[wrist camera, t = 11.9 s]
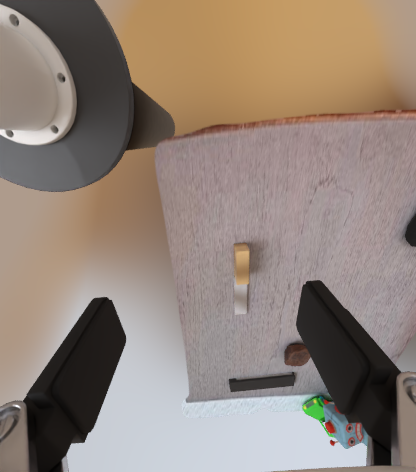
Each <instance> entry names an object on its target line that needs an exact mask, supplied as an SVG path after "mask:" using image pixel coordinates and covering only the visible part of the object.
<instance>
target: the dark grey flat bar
mask: <svg viewBox="0 0 416 472" xmlns="http://www.w3.org/2000/svg"><path fill="white" fill-rule="evenodd" d="M247 378H248V379H247ZM294 380H295V375H294V372H292V373H282V374H274V376H273V375H263V376H254V377H245V378H244V379H243V378H234V379H229V384H230V390H231V392H237V391H246V390H256V389H266V388H276V387H286V386H294Z"/></svg>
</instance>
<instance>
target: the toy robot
mask: <svg viewBox="0 0 416 472" xmlns="http://www.w3.org/2000/svg"><path fill="white" fill-rule="evenodd" d="M324 403H325V405H323V410H324V416H325V422H326V423H325V426H326V429H327V430H328V432H329V433H330V434H332V435H333V436H334V437H335V438H336V439H337V440H338V441H336V442H334V441H332V440H331V441H330V444H331V445H333V446H334V444H335V443H337V442H340V443H341V445H342V446H343V447H344V448H346V449H348V448H350V447H352V446H354V445H357V444H359V443H364V444H365V445H366V446H367V441H368V435H367V433H366V431H365V429H364V428H363V426H362V424H361V423H348V421H347V419H346V417H345V415H344V414H341V413H340V412H339V411H338V409H337V407H336V406H335V404H334V402H328V401H327V400H324Z"/></svg>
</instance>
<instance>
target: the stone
mask: <svg viewBox="0 0 416 472" xmlns="http://www.w3.org/2000/svg"><path fill="white" fill-rule="evenodd" d="M284 355H285V356H284V357H285V364H286V365H291V366H302V365H304V364H305V363H307V362H308V360H309V359H310V357H311V356H310V354H309V352H308V350H307V348H306V346H305V345H299V344H296V345H290V346H287V349H286V350H285V354H284Z"/></svg>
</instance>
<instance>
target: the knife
mask: <svg viewBox="0 0 416 472" xmlns="http://www.w3.org/2000/svg"><path fill="white" fill-rule="evenodd" d="M234 273H235V276H234V313H235V315H238V314H247V284H249V249H248V246H247V244H246V243H239V244H234Z"/></svg>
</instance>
